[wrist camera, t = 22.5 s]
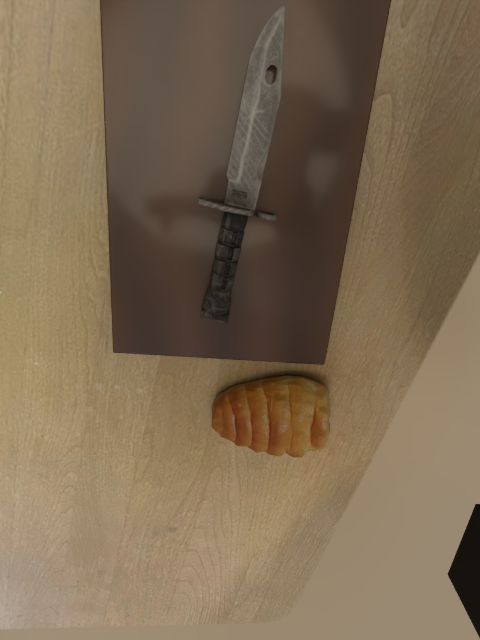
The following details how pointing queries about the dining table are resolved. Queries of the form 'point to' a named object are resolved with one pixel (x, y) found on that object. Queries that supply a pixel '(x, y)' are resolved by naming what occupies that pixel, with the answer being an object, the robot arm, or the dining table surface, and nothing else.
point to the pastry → (275, 415)
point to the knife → (246, 165)
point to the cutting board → (212, 164)
